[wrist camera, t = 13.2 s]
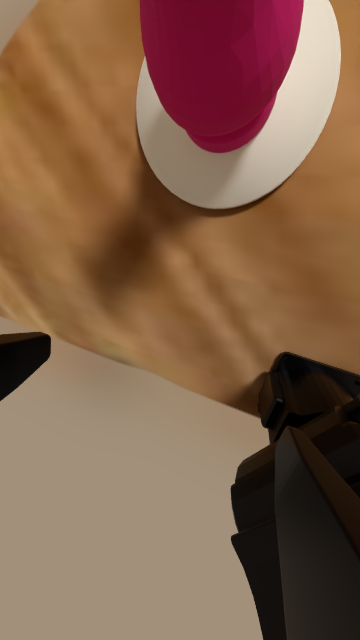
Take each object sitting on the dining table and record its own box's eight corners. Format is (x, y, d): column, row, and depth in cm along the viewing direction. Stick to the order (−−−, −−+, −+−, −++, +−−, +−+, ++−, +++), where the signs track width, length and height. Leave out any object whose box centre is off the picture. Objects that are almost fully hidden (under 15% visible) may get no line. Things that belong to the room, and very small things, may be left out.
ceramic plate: (380, -27, 12) (388, -45, 11) (285, 226, 17) (287, 225, 16) (159, -31, 15) (155, -47, 14) (129, 191, 19) (124, 189, 18)
